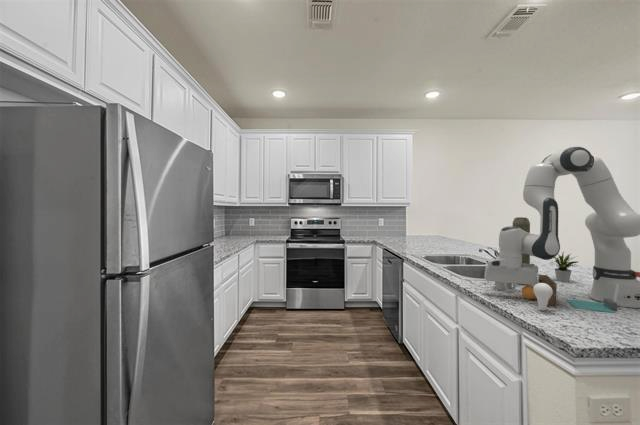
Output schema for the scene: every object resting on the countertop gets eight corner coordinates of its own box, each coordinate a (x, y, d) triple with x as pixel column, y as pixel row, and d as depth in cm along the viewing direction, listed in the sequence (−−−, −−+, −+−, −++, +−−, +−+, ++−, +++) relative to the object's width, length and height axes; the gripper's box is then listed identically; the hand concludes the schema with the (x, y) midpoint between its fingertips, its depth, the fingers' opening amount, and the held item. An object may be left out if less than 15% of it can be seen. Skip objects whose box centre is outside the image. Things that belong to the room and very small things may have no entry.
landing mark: (601, 303, 121) (601, 302, 121) (615, 313, 110) (615, 312, 110) (565, 299, 126) (565, 298, 126) (575, 308, 115) (575, 307, 115)
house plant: (551, 283, 151) (552, 252, 151) (539, 277, 164) (539, 249, 164) (584, 285, 147) (584, 253, 147) (569, 278, 161) (569, 249, 160)
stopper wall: (609, 306, 117) (610, 298, 117) (617, 311, 112) (617, 303, 112) (603, 305, 118) (603, 298, 118) (610, 310, 113) (610, 302, 113)
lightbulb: (553, 314, 109) (554, 286, 108) (533, 311, 112) (534, 283, 112) (551, 309, 114) (551, 282, 114) (532, 306, 117) (532, 280, 117)
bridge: (546, 296, 130) (546, 275, 130) (556, 307, 117) (556, 283, 117) (538, 295, 132) (538, 274, 131) (547, 305, 118) (547, 282, 118)
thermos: (532, 282, 154) (533, 217, 153) (528, 286, 146) (529, 218, 145) (513, 279, 160) (513, 217, 159) (508, 283, 152) (508, 217, 151)
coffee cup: (517, 292, 137) (518, 261, 136) (497, 291, 139) (497, 260, 138) (509, 286, 146) (509, 257, 145) (489, 285, 148) (490, 257, 147)
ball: (517, 286, 131) (523, 298, 130) (520, 289, 126) (526, 302, 125) (532, 282, 129) (539, 295, 128) (535, 285, 123) (542, 299, 122)
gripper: (536, 262, 128) (536, 293, 128) (484, 259, 137) (484, 287, 137) (540, 265, 122) (539, 297, 123) (485, 261, 131) (485, 291, 132)
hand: (509, 292), depth 130 cm, fingers closed
